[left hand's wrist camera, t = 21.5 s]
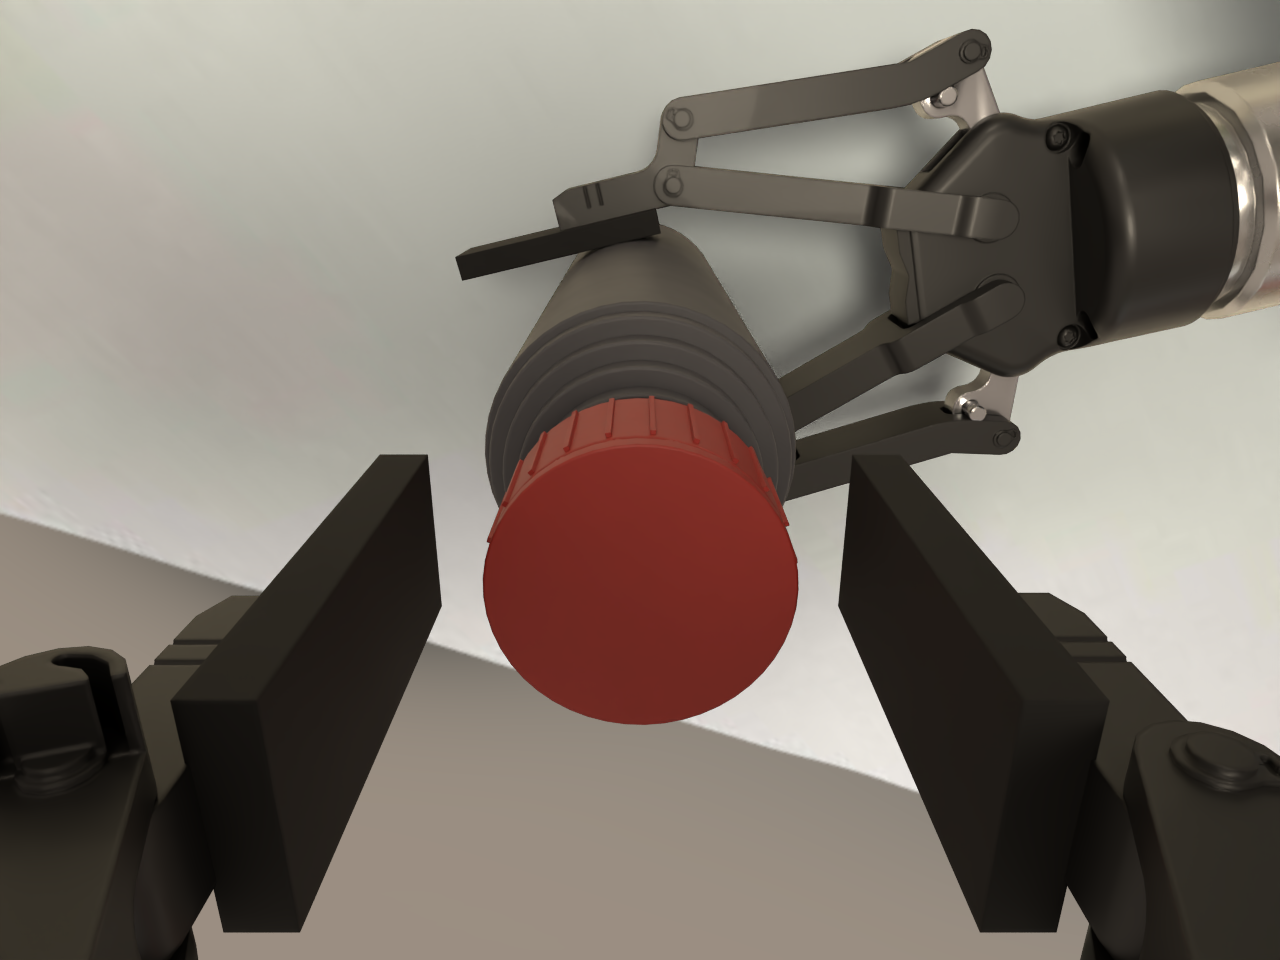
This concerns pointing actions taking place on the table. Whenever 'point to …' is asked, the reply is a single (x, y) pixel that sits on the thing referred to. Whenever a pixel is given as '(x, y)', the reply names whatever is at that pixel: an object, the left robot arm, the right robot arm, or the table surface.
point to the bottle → (640, 355)
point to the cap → (640, 564)
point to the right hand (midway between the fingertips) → (497, 364)
